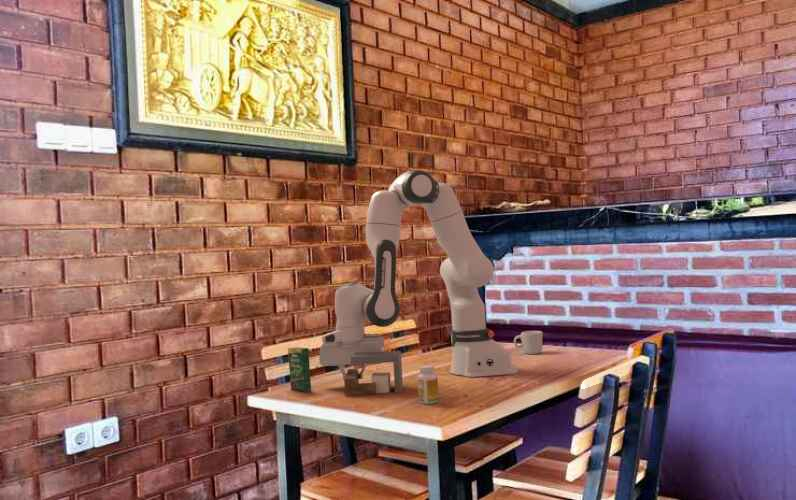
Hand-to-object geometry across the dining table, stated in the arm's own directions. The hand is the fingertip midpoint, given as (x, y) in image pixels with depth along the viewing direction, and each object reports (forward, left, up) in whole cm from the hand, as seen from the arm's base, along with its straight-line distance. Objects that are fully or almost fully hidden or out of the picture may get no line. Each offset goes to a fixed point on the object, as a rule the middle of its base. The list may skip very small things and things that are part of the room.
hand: (353, 378), depth 202 cm
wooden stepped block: (-4, +6, -2) cm, 7 cm away
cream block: (-10, +9, -2) cm, 13 cm away
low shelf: (-9, +9, -2) cm, 13 cm away
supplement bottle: (-25, +25, -2) cm, 35 cm away
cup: (-59, -47, -2) cm, 76 cm away
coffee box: (+16, +4, -2) cm, 17 cm away
